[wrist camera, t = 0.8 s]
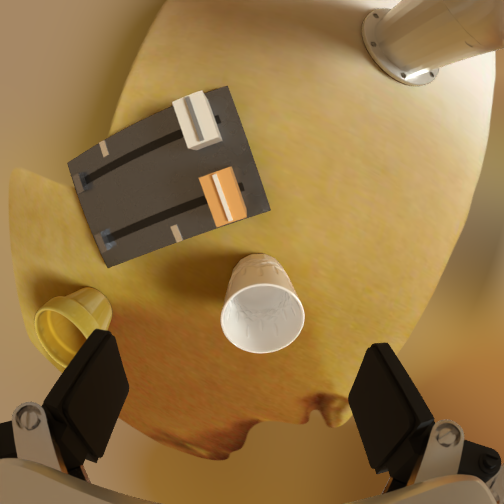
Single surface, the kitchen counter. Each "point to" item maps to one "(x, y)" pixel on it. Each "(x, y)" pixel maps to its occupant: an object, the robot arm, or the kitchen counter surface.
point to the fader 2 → (223, 196)
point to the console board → (160, 181)
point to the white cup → (261, 306)
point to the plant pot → (71, 322)
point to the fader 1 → (197, 121)
